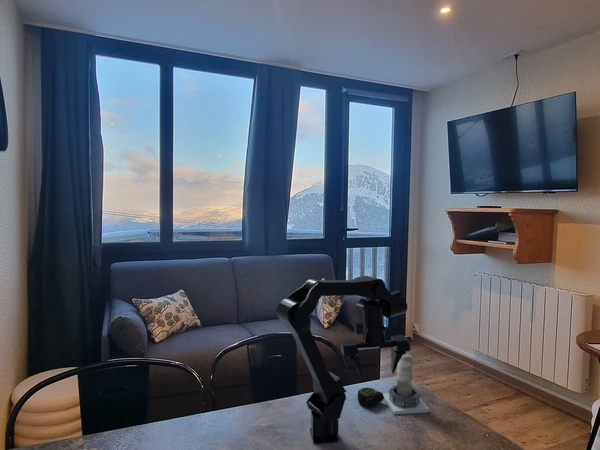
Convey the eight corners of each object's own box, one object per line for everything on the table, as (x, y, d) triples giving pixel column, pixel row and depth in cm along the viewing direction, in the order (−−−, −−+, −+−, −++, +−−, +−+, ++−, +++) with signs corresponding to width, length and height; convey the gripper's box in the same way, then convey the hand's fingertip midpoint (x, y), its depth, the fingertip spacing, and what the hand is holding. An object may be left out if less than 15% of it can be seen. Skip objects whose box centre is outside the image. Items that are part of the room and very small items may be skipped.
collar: (396, 408, 120) (396, 398, 120) (386, 395, 129) (386, 386, 129) (423, 406, 121) (423, 397, 121) (412, 393, 130) (412, 384, 130)
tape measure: (370, 411, 121) (370, 398, 121) (352, 402, 126) (352, 390, 126) (384, 404, 126) (384, 392, 125) (367, 396, 131) (367, 384, 130)
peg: (403, 405, 122) (404, 360, 121) (393, 399, 126) (394, 355, 125) (415, 402, 124) (415, 357, 123) (404, 396, 128) (405, 352, 127)
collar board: (393, 414, 119) (393, 411, 119) (381, 396, 130) (381, 393, 130) (429, 412, 120) (429, 408, 120) (414, 394, 131) (414, 391, 131)
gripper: (398, 309, 122) (400, 359, 124) (336, 315, 122) (339, 365, 123) (409, 321, 111) (412, 376, 113) (342, 327, 111) (345, 382, 112)
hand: (376, 374), depth 115 cm, fingers open, 9 cm apart
